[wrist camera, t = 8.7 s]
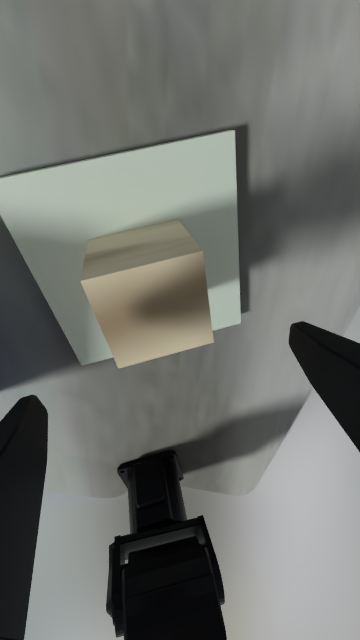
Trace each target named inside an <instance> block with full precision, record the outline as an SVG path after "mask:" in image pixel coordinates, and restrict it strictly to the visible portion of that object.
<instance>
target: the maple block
mask: <svg viewBox="0 0 360 640" xmlns="http://www.w3.org/2000/svg"><path fill="white" fill-rule="evenodd" d="M80 282H81V284H82V286H83V289H84V291H85V293H86V295H87V298H88V300H89V302H90V305H91V307H92V309H93V312H94V314H95V316H96V318H97V321H98V323H99V325H100V328H101V330H102V332H103V334H104V337H105V339H106V341H107V344H108V346H109V348H110V351H111V353H112V355H113V357H114V360H115V362H116V364H117V367H118V369H119V368H122V367H126V366H129V365H133V364H137V363H140V362H144V361H148V360H151V359H155V358H159V357H162V356H166V355H169V354H173V353H177V352H180V351H184V350H188V349H191V348H195V347H198V346H202V345H206V344H209V343H213V342H214V340H213V332H212V323H211V315H210V307H209V298H208V290H207V282H206V273H205V265H204V256H203V250H202V249H201V248H200V247H199V245H198V244H197V243H196V242H195V240H194V239H193V238H192V237H191V235H190V234H189V233H188V232H187V230H186V229H185V228H184V227H183V225H182V224H181V223H180V222H179V220H178V219H175V220H171V221H166V222H162V223H158V224H154V225H150V226H145V227H141V228H137V229H133V230H128V231H124V232H120V233H116V234H111V235H107V236H103V237H99V238H94V239H90V240H88V242H87V248H86V253H85V258H84V264H83V269H82V274H81V280H80Z"/></svg>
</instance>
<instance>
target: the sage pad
mask: <svg viewBox="0 0 360 640" xmlns="http://www.w3.org/2000/svg"><path fill="white" fill-rule="evenodd" d="M0 215H1V217H2V219H3V221H4V223H5V225H6V227H7V228H8V230H9V232H10V234H11V236H12V238H13V239H14V241H15V243H16V245H17V247H18V249H19V251H20V252H21V254H22V256H23V258H24V260H25V262H26V264H27V265H28V267H29V269H30V271H31V273H32V275H33V276H34V278H35V280H36V282H37V284H38V286H39V288H40V289H41V291H42V293H43V295H44V297H45V299H46V301H47V302H48V304H49V306H50V308H51V310H52V312H53V313H54V315H55V317H56V319H57V321H58V323H59V325H60V326H61V328H62V330H63V332H64V334H65V336H66V338H67V339H68V341H69V343H70V345H71V347H72V349H73V350H74V352H75V354H76V356H77V358H78V360H79V362H80V363H81V365H82V366H83V365H87V364H90V363H94V362H98V361H102V360H105V359H109V358H113V355H112V353H111V351H110V348H109V346H108V344H107V341H106V339H105V337H104V334H103V332H102V330H101V328H100V325H99V323H98V321H97V318H96V316H95V314H94V312H93V309H92V307H91V305H90V302H89V300H88V298H87V295H86V293H85V291H84V289H83V286H82V284H81V282H80V280H81V274H82V269H83V264H84V258H85V253H86V248H87V242H88V240H90V239H94V238H99V237H103V236H107V235H111V234H116V233H120V232H124V231H128V230H133V229H137V228H141V227H145V226H150V225H154V224H158V223H162V222H166V221H171V220H175V219H178V220H179V222H180V223H181V224H182V225H183V227H184V228H185V229H186V230H187V232H188V233H189V234H190V235H191V237H192V238H193V239H194V240H195V242H196V243H197V244H198V245H199V247H200V248H201V249H202V250H203V256H204V265H205V273H206V282H207V290H208V298H209V307H210V315H211V323H212V331H214V330H217V329H221V328H225V327H228V326H232V325H236V324H240V323H241V312H240V280H239V247H238V215H237V183H236V151H235V130H226V131H221V132H216V133H211V134H206V135H201V136H196V137H192V138H187V139H182V140H177V141H172V142H167V143H163V144H158V145H153V146H148V147H143V148H138V149H134V150H129V151H124V152H119V153H114V154H109V155H104V156H100V157H95V158H90V159H85V160H80V161H75V162H71V163H66V164H61V165H56V166H51V167H46V168H41V169H37V170H32V171H27V172H22V173H17V174H12V175H8V176H3V177H0Z"/></svg>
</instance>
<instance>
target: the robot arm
mask: <svg viewBox="0 0 360 640" xmlns="http://www.w3.org/2000/svg"><path fill="white" fill-rule="evenodd" d="M289 345H290V348H291V350H292V351H293V353H294V355H295V357H296V359H297V360H298V362H299V364H300V366H301V367H302V369H303V371H304V373H305V375H306V376H307V378H308V380H309V381H310V383H311V384H312V386H313V387H314V389H315V390H316V392H317V393H318V394H319V396H320V397H321V399H322V400H323V401H324V403H325V404H326V406H327V407H328V408H329V410H330V411H331V412H332V414H333V415H334V417H335V418H336V419H337V421H338V422H339V424H340V425H341V426H342V428H343V429H344V431H345V432H346V433H347V435H348V436H349V438H350V439H351V440H352V442H353V443H354V445H355V446H356V447H357V449H358V450H359V452H360V343H357V342H355V341H352V340H350V339H347V338H345V337H342V336H339V335H337V334H334V333H332V332H329V331H327V330H324V329H322V328H319V327H317V326H314V325H312V324H309V323H306V322H303V321H301V322H297V323H293V324H292V325H291V327H290V334H289ZM47 443H48V413H47V410H46V408H45V407H44V405H43V404H42V403H41V401H40V400H39V399H38V397H37V396H35V395H29V396H26V397H22V398H21V399H19V400H18V402H17V403H16V404H15V405H14V406H13V407H12V409H11V410H10V411H9V412H8V413H7V414H6V416H5V417H4V418H3V419H2V420H1V421H0V640H24V635H25V627H26V620H27V612H28V604H29V596H30V588H31V581H32V573H33V565H34V558H35V550H36V542H37V535H38V527H39V519H40V510H41V504H42V496H43V489H44V481H45V473H46V465H47ZM117 472H118V474H119V476H120V477H121V479H122V481H123V482H124V484H125V485H126V487H127V488H128V498H129V518H130V534H129V535H124V536H116V537H115V542H114V543H112V544H111V545H109V576H108V589H107V603H106V611H107V613H108V614H109V615H110V616H111V617H112V618H113V625H115V632H116V637H120V636H124V640H226V639H227V637H226V631H225V626H224V621H223V616H222V611H221V606H220V605H222V604H224V602H225V600H224V589H223V583H222V578H221V573H220V569H219V565H218V562H217V558H216V555H215V552H214V549H213V546H212V542H211V539H210V536H209V533H208V530H207V527H206V524H205V521H204V517H203V515H202V516H198V517H197V518H194V519H190V520H187V516H186V512H185V507H184V502H183V497H182V492H181V487H180V482H179V481H181V480H183V478H184V477H183V473H182V470H181V467H180V464H179V461H178V458H177V455H176V452H175V451H168V452H165V453H162V454H158V455H155V456H152V457H148V458H145V459H142V460H138V461H135V462H132V463H128V464H125V465H122V466H119V467H118V468H117ZM127 559H128V563H127V564H125V560H127Z"/></svg>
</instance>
